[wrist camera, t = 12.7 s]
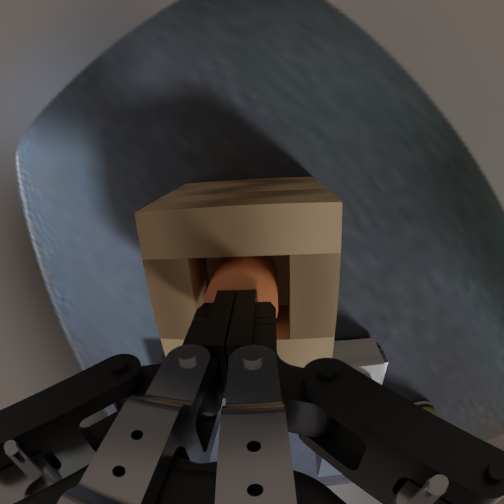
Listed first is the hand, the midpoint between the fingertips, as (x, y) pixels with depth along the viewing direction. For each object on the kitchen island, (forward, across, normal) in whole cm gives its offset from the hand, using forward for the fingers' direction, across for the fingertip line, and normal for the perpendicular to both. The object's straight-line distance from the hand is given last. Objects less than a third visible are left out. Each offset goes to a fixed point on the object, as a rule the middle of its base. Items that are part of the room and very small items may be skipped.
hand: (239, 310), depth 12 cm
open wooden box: (+9, 0, 0) cm, 9 cm away
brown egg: (+3, 0, 0) cm, 3 cm away
